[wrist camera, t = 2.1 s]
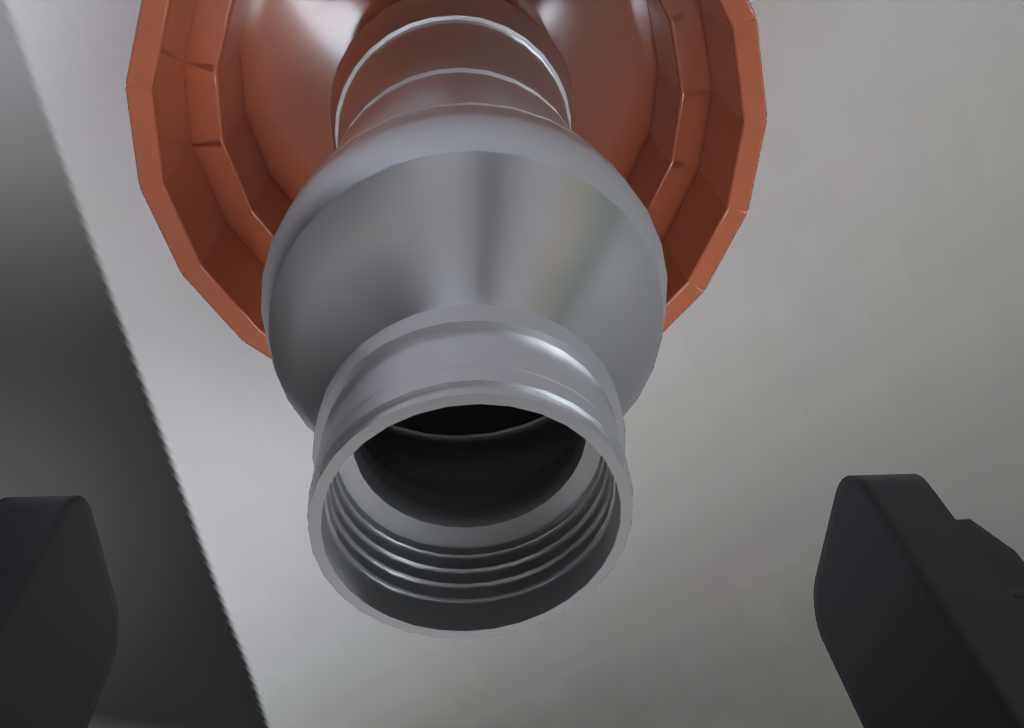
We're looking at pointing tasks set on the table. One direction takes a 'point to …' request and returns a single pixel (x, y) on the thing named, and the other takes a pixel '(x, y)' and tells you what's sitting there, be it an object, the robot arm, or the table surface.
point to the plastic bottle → (463, 327)
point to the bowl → (309, 140)
